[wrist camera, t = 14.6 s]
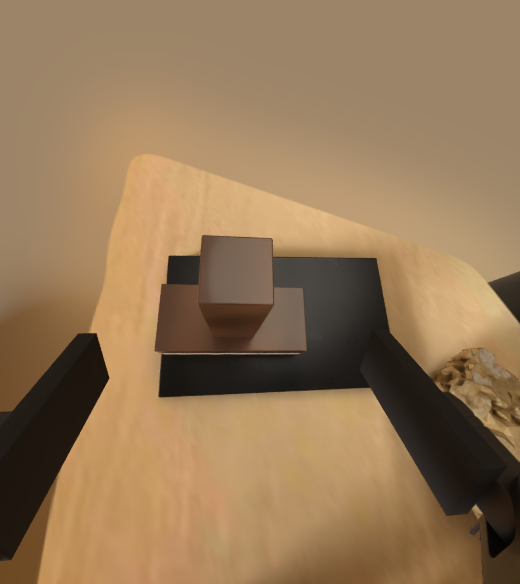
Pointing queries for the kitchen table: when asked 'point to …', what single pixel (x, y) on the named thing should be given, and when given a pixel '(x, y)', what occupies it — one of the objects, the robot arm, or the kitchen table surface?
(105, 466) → the kitchen table surface
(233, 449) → the kitchen table surface
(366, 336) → the panel
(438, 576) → the kitchen table surface
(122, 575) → the kitchen table surface
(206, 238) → the brown block
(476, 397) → the sponge
